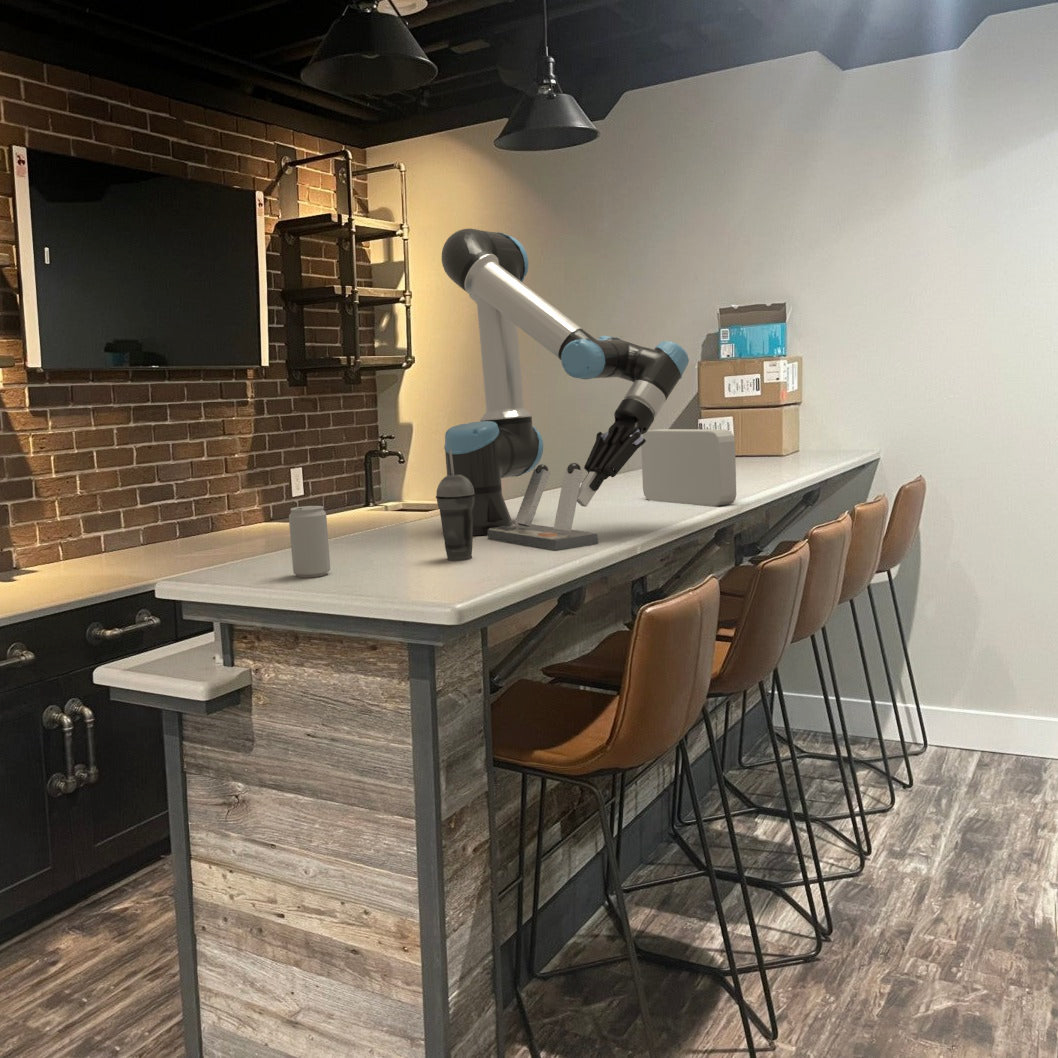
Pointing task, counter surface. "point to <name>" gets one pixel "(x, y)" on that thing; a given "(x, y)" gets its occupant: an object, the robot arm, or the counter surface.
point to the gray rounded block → (689, 466)
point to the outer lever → (568, 497)
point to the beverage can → (309, 541)
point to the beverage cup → (456, 514)
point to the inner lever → (532, 496)
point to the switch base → (542, 536)
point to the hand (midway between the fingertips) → (579, 502)
